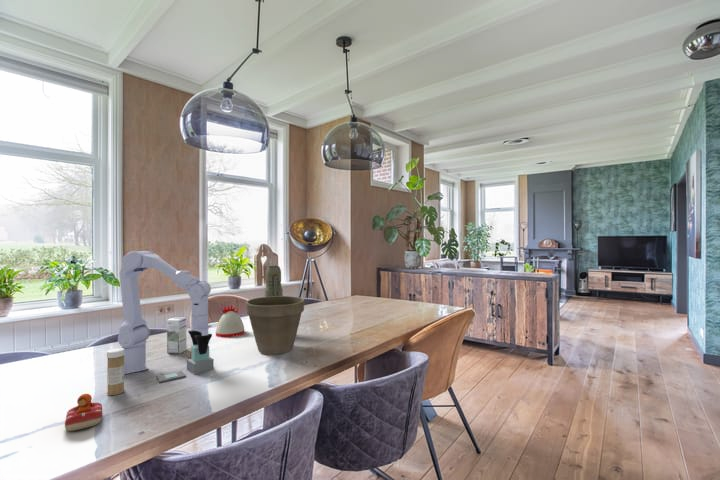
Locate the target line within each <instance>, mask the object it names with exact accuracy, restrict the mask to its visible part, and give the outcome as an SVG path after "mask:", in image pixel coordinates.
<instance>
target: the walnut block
mask: <svg viewBox="0 0 720 480" xmlns="http://www.w3.org/2000/svg"><path fill="white" fill-rule="evenodd" d="M186 351H187V353H186V354H187V355H186V360H187V359H191V347H189V348H188V347H187V350H186Z"/></svg>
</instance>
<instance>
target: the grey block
mask: <svg viewBox="0 0 720 480" xmlns="http://www.w3.org/2000/svg"><path fill="white" fill-rule="evenodd" d="M214 361H215V360H214V358H212V357H210V356H209V360H204V361H199V362H194V361H193V360H192V359H187V358H186V371H188V372H190V373H191V374H193V375H197V374H201V373H205V372H208V371H212V370H215V369H214V367H215V365H214V363H215V362H214Z"/></svg>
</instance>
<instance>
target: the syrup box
mask: <svg viewBox="0 0 720 480" xmlns="http://www.w3.org/2000/svg"><path fill="white" fill-rule="evenodd" d="M187 343H188V342H187V317H186V316H185V317H181V316H180V317H179V316H178V317H177V316H176V317H175V316H174V317H171V318H168V319H166V348H167V349H166V351H167V352H166V353H167V354H181V353H184V352H185V351H187V349H188V345H187Z"/></svg>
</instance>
